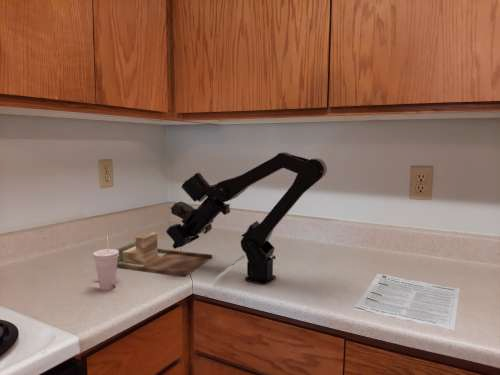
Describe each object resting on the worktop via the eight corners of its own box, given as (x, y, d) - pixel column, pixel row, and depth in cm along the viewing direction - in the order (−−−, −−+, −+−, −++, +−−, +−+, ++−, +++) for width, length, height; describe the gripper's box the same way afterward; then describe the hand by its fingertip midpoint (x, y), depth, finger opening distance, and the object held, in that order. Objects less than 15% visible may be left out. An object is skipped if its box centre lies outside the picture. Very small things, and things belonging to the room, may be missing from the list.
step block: (157, 257, 117) (157, 232, 116) (144, 264, 110) (143, 238, 109) (136, 254, 119) (135, 230, 118) (122, 261, 113) (121, 236, 112)
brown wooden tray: (212, 262, 117) (212, 245, 116) (184, 282, 100) (184, 262, 99) (143, 254, 125) (142, 238, 124) (107, 271, 108) (106, 253, 107)
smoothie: (124, 288, 96) (122, 236, 94) (100, 295, 91) (97, 240, 90) (114, 281, 100) (112, 231, 98) (90, 287, 96) (88, 235, 94)
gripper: (201, 189, 115) (172, 221, 120) (171, 197, 98) (138, 235, 103) (225, 215, 114) (194, 246, 119) (198, 227, 96) (163, 264, 101)
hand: (174, 247), depth 110 cm, fingers closed
